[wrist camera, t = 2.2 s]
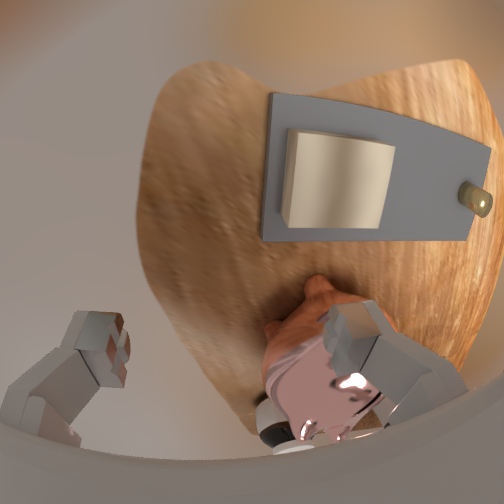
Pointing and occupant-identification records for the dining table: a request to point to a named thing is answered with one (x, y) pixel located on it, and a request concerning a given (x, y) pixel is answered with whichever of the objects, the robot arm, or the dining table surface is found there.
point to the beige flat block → (334, 180)
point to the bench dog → (475, 199)
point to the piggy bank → (314, 369)
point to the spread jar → (277, 429)
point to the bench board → (401, 178)
